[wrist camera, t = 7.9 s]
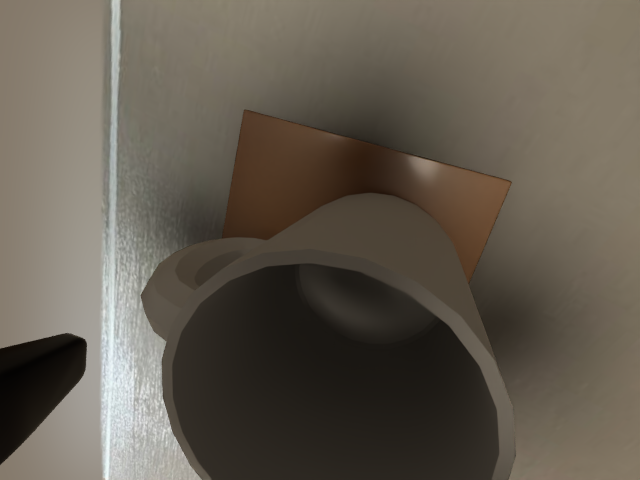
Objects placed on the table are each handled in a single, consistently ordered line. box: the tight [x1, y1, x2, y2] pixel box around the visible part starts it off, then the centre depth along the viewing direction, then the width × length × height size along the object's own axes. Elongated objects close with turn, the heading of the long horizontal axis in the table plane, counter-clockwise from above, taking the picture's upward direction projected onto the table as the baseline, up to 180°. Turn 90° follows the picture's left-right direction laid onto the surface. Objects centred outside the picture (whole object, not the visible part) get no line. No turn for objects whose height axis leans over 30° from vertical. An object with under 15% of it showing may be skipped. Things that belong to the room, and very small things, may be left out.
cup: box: [141, 193, 516, 480], centre depth 12 cm, size 7×10×9 cm
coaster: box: [222, 110, 512, 284], centre depth 16 cm, size 11×11×1 cm
